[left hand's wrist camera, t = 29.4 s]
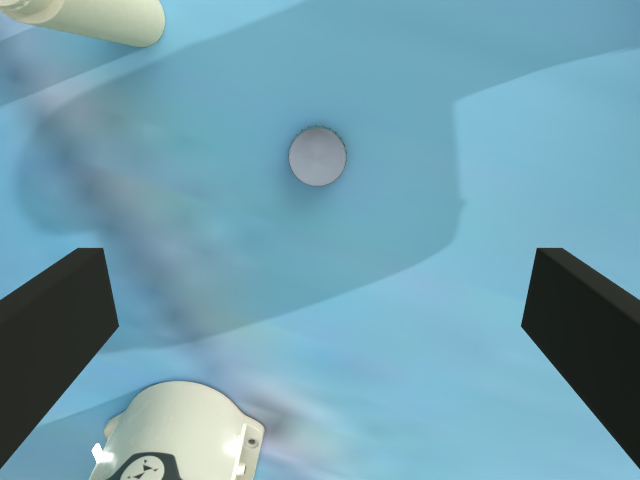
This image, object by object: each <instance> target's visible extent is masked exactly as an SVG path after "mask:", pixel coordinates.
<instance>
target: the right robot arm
mask: <svg viewBox="0 0 640 480" xmlns="http://www.w3.org/2000/svg"><path fill="white" fill-rule="evenodd" d="M104 435H105V437H106V439H107V443H106V445H105V447H104V449H103V451H102V450H101V448H100V445H99V444H96V445H95V447H94V448H93V450H92V452H93V454H94V456H95V459H96V461H97V463H96V465H95V468H94V470H93V472H92V474H91V476H90V478H89V480H254V475H255V471H256V466H257V462H258V458H259V453H260V449H261V445H262V440H263V436H264V427H263V426H262V425H261V424H260V423H259V422H257V421H255V420H254V419H252V418H250V417H248V416H246V415H244V414H243V413H242V412H241V411H240V410H239V409H238V408H237V407H236V406H235V405H234V403H233V402H232V401H230V400H229V399H228V398H227V397H226V396H224V395H223V394H221V393H220V392H218V391H216V390H214V389H212V388H210V387H208V386H205V385H202V384H198V383H194V382H187V381H169V382H163V383H159V384H156V385H153V386H150V387H148V388H146V389H145V390H143V391H141V392H140V393H139V394H138V395H136V396H135V397H134V399H133V400H132V401H131V403H130V404H129V405H128V407H127V408H126V410H125V411H124V412H123V413H121V414H119V415H117V416H115V417H113V418H112V419H110V420H109V421H108V422H107V424H106V427H105V429H104ZM251 439H253V440H251Z"/></svg>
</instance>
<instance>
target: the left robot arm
mask: <svg viewBox="0 0 640 480" xmlns="http://www.w3.org/2000/svg"><path fill="white" fill-rule="evenodd" d="M118 327H119V324H118V319H117V314H116V309H115V304H114V299H113V294H112V289H111V285H110V280H109V275H108V270H107V265H106V260H105V255H104V250H103V248H77V249H76V250H74V251H73V252H71V253H70V254H68V255H67V256H65V257H64V258H62V259H61V260H59V261H58V262H56V263H55V264H53V265H52V266H50V267H49V268H47V269H46V270H44V271H43V272H41V273H40V274H38V275H37V276H35V277H34V278H33V279H31V280H30V281H28V282H27V283H25V284H24V285H22V286H21V287H19V288H18V289H16V290H15V291H13V292H12V293H10V294H9V295H7V296H6V297H4V298H3V299H1V300H0V469H1V468H2V466H3V465H4V464H5V463H6V462H7V460H8V459H9V458H10V457H11V456H12V454H13V453H14V452H15V451H16V450H17V448H18V447H19V446H20V445H21V444H22V442H23V441H24V440H25V439H26V438H27V436H28V435H29V434H30V433H31V432H32V430H33V429H34V428H35V427H36V425H37V424H38V423H39V422H40V421H41V419H42V418H43V417H44V416H45V415H46V413H47V412H48V411H49V410H50V409H51V407H52V406H53V405H54V404H55V403H56V401H57V400H58V399H59V398H60V397H61V395H62V394H63V393H64V392H65V391H66V389H67V388H68V387H69V386H70V385H71V383H72V382H73V381H74V380H75V379H76V377H77V376H78V375H79V374H80V373H81V371H82V370H83V369H84V368H85V367H86V365H87V364H88V363H89V362H90V361H91V359H92V358H93V357H94V356H95V355H96V353H97V352H98V351H99V350H100V349H101V347H102V346H103V345H104V344H105V343H106V341H107V340H108V339H109V338H110V337H111V335H112V334H113V333H114V332H115V331H116V329H117V328H118ZM521 327H522V328H523V329H524V331H525V332H526V333H527V334H528V335H529V337H530V338H531V339H532V340H533V341H534V343H535V344H536V345H537V346H538V347H539V349H540V350H541V351H542V352H543V353H544V355H545V356H546V357H547V358H548V359H549V361H550V362H551V363H552V364H553V365H554V367H555V368H556V369H557V370H558V371H559V373H560V374H561V375H562V376H563V377H564V379H565V380H566V381H567V382H568V383H569V385H570V386H571V387H572V388H573V389H574V391H575V392H576V393H577V394H578V395H579V397H580V398H581V399H582V400H583V401H584V403H585V404H586V405H587V406H588V407H589V409H590V410H591V411H592V412H593V413H594V415H595V416H596V417H597V418H598V419H599V421H600V422H601V423H602V424H603V426H604V427H605V428H606V429H607V430H608V432H609V433H610V434H611V435H612V436H613V438H614V439H615V440H616V441H617V442H618V444H619V445H620V446H621V447H622V448H623V450H624V451H625V452H626V453H627V454H628V456H629V457H630V458H631V459H632V460H633V462H634V463H635V464H636V465H637V466H638V468H639V469H640V300H639V299H637V298H636V297H634V296H633V295H631V294H630V293H628V292H627V291H625V290H624V289H622V288H621V287H619V286H618V285H616V284H615V283H613V282H612V281H610V280H609V279H607V278H606V277H605V276H603V275H602V274H600V273H599V272H597V271H596V270H594V269H593V268H591V267H590V266H588V265H587V264H585V263H584V262H582V261H581V260H579V259H578V258H576V257H575V256H573V255H572V254H570V253H569V252H567V251H566V250H564V249H563V248H537V250H536V255H535V260H534V265H533V270H532V275H531V280H530V285H529V289H528V294H527V299H526V304H525V309H524V314H523V319H522V324H521Z"/></svg>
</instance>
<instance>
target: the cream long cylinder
mask: <svg viewBox="0 0 640 480" xmlns="http://www.w3.org/2000/svg"><path fill="white" fill-rule="evenodd" d="M0 11H1V12H2V13H3V14H5V15H6V16H8V17H10V18H11V19H13V20H16V21H18V22H21V23H25V24H30V25H35V26H39V27H44V28H49V29H54V30H59V31H63V32H68V33H73V34H78V35H83V36H87V37H92V38H97V39H102V40H107V41H112V42H116V43H121V44H126V45H131V46H136V47H148V46H151V45H153V44H154V43H156V42H157V41H158V40H159V39H160V37H161V36H162V34H163V31H164V27H165V15H164V11H163V8H162V6H161V4H160V2H159V0H0Z"/></svg>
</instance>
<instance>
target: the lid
mask: <svg viewBox="0 0 640 480" xmlns="http://www.w3.org/2000/svg"><path fill="white" fill-rule="evenodd" d="M341 140H342V139H341V137H339V136H338V135H337V133H336V132H334V131H332V130H331V129H330V128H326V127H324V126H316V125H315V126H313V127H308V128H306V129H304V130H302V131H301V132H300V133H299V134H297V135H296V137H295V139H294V140H293V141H292V145H291V147H290V148H289V156H288V158H289V165H290V167H291V170H292V172H293V173H294V175H295V176H296V177H297V178H298V179H299V180H300V181H302V182H303V183H305V184H308V185H311V186H324V185H327V184H329V183H331V182H333V181H335V180H336V179H337V178H338V177H339V176H340V175H341V173H342V171H343V169H344V168H345V163H346V154H347V153H346V150H345V148H344V147H345V145H344V143H342V141H341Z"/></svg>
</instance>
